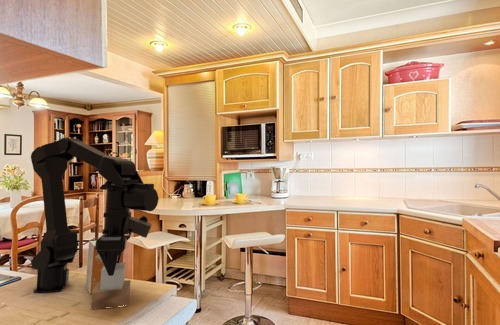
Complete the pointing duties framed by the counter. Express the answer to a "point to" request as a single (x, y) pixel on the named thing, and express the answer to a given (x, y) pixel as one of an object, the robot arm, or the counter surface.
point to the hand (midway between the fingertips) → (113, 269)
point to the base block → (110, 296)
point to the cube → (113, 278)
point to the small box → (94, 267)
